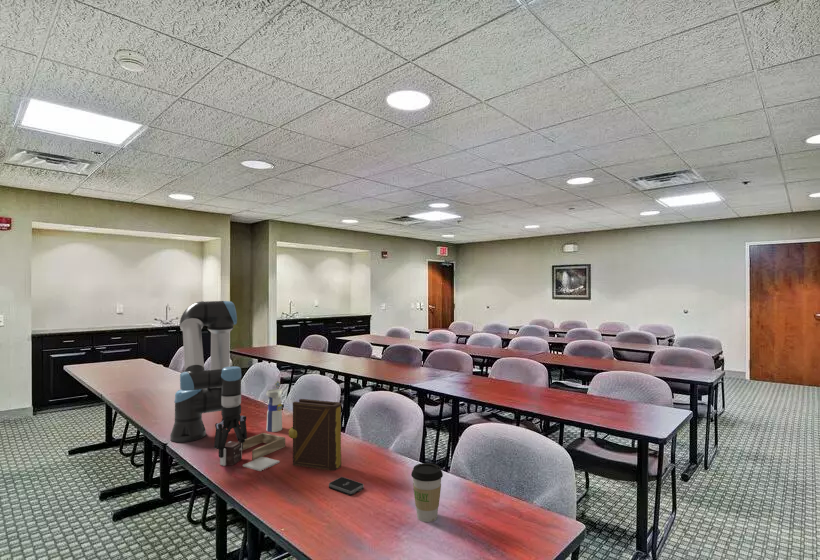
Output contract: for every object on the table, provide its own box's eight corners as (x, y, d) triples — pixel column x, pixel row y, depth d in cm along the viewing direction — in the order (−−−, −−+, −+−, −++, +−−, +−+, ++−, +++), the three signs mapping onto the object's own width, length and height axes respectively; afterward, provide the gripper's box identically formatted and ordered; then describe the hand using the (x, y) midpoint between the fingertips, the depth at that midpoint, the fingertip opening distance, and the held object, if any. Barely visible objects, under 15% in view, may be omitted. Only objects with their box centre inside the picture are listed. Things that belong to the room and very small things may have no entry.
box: (232, 465, 179) (233, 447, 179) (219, 464, 180) (219, 446, 180) (241, 459, 184) (241, 442, 185) (228, 458, 186) (229, 441, 186)
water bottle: (287, 427, 226) (287, 378, 226) (275, 433, 218) (275, 381, 218) (274, 425, 229) (274, 377, 230) (262, 430, 222) (262, 380, 222)
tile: (242, 466, 178) (242, 464, 178) (262, 457, 186) (262, 456, 186) (260, 471, 173) (260, 469, 173) (279, 462, 182) (279, 460, 182)
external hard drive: (350, 497, 152) (350, 491, 152) (327, 489, 158) (327, 483, 159) (364, 489, 158) (364, 484, 158) (341, 481, 164) (341, 476, 164)
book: (343, 464, 180) (343, 401, 180) (333, 472, 172) (333, 407, 172) (296, 457, 187) (296, 397, 187) (284, 465, 179) (284, 402, 179)
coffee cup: (410, 509, 143) (410, 462, 143) (440, 508, 144) (440, 461, 144) (412, 526, 133) (412, 475, 133) (445, 524, 134) (445, 474, 134)
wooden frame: (230, 454, 190) (230, 444, 191) (262, 441, 206) (262, 432, 206) (253, 460, 184) (253, 450, 184) (285, 446, 200) (285, 437, 200)
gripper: (216, 412, 172) (216, 472, 172) (256, 400, 190) (256, 455, 189) (203, 409, 176) (203, 468, 175) (244, 398, 193) (244, 452, 193)
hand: (231, 461), depth 182 cm, fingers open, 7 cm apart
